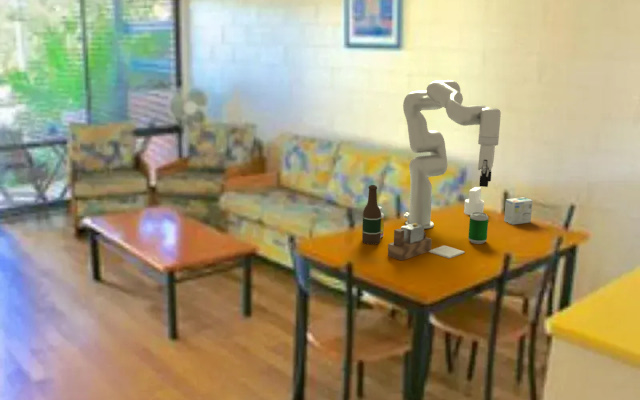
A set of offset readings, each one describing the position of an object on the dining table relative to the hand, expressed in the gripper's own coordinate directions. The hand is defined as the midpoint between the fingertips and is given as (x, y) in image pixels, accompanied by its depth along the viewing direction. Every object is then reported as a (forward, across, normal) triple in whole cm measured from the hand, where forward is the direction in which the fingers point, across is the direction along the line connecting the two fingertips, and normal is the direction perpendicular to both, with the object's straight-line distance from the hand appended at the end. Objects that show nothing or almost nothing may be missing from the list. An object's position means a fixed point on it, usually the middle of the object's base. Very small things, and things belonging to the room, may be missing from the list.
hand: (485, 183), depth 263 cm
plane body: (+28, +14, -26) cm, 40 cm away
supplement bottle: (+28, -3, -44) cm, 52 cm away
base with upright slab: (+28, -56, -10) cm, 63 cm away
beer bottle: (+28, +5, -44) cm, 52 cm away
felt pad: (+28, +7, -12) cm, 31 cm away
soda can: (+28, -12, -2) cm, 30 cm away
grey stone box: (+23, +13, -25) cm, 36 cm away
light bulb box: (+28, -48, +11) cm, 57 cm away
